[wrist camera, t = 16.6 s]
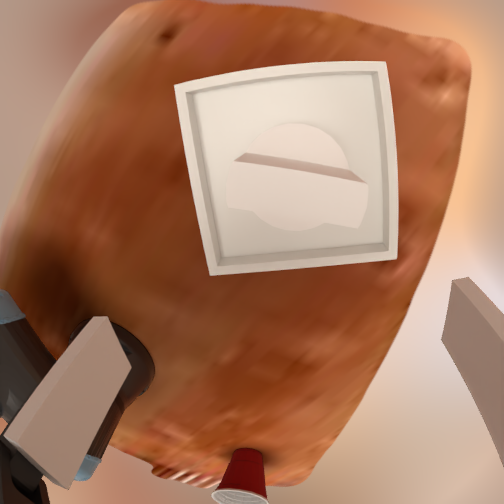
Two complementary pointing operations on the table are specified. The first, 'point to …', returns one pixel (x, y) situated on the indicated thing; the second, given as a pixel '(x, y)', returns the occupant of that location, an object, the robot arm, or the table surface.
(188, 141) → the tray
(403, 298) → the table surface
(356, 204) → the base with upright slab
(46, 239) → the table surface
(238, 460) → the plastic cup
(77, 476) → the robot arm
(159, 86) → the table surface
